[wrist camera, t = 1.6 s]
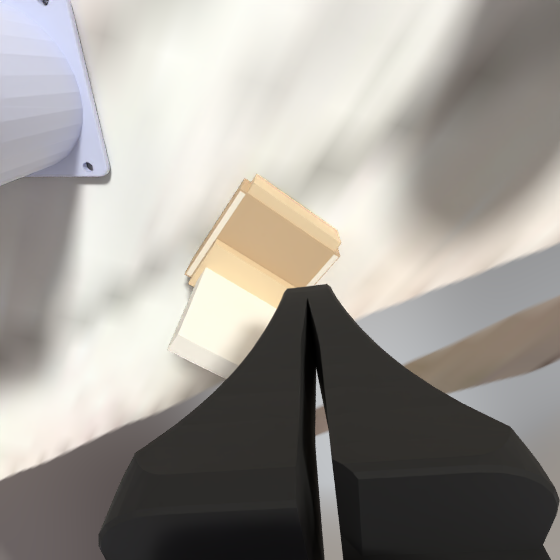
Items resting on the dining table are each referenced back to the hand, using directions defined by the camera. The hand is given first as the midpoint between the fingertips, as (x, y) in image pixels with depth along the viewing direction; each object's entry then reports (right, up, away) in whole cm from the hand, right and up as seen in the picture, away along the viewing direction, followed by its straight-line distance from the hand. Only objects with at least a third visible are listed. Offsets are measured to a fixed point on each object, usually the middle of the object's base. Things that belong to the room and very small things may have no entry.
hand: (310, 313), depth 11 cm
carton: (-2, +3, +10) cm, 11 cm away
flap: (-3, +1, +9) cm, 10 cm away
